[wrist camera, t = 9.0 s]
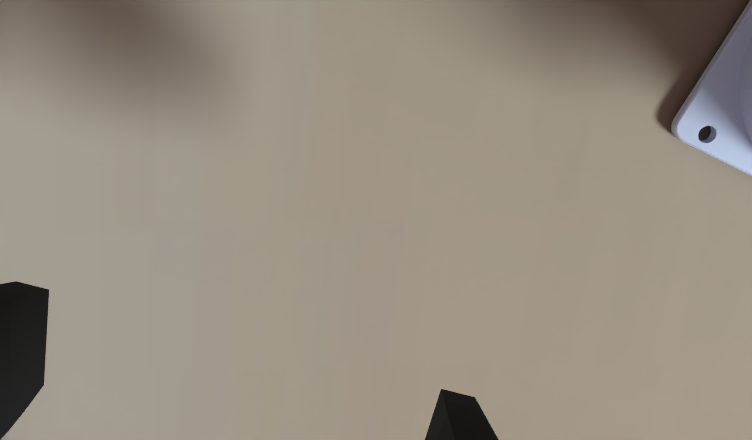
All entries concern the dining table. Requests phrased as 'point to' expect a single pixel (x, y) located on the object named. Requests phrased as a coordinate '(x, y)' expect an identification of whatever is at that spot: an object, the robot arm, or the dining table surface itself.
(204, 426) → the dining table surface
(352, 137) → the dining table surface
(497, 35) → the dining table surface
